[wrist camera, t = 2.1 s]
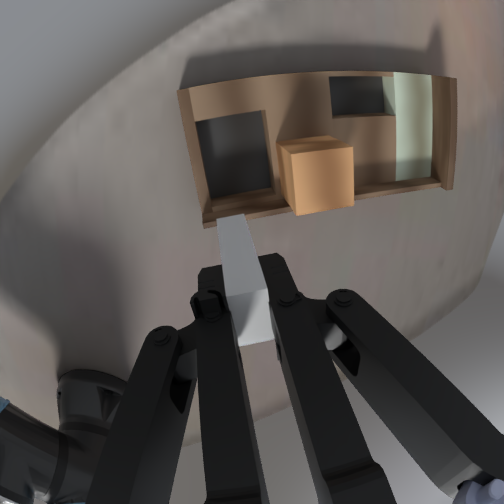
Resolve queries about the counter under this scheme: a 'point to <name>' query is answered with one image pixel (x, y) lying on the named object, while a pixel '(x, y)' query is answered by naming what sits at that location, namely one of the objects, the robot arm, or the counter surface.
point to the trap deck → (317, 134)
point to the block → (316, 173)
